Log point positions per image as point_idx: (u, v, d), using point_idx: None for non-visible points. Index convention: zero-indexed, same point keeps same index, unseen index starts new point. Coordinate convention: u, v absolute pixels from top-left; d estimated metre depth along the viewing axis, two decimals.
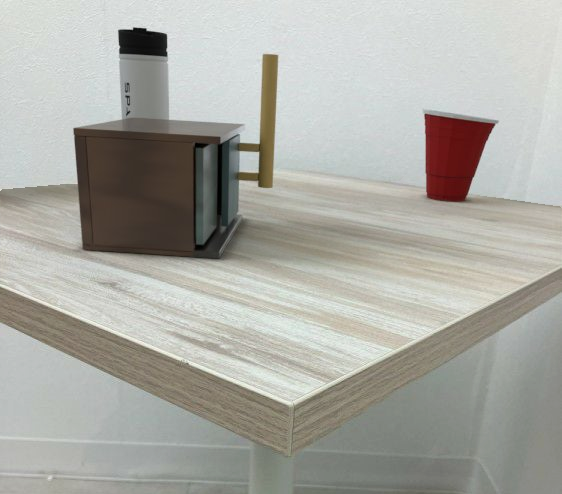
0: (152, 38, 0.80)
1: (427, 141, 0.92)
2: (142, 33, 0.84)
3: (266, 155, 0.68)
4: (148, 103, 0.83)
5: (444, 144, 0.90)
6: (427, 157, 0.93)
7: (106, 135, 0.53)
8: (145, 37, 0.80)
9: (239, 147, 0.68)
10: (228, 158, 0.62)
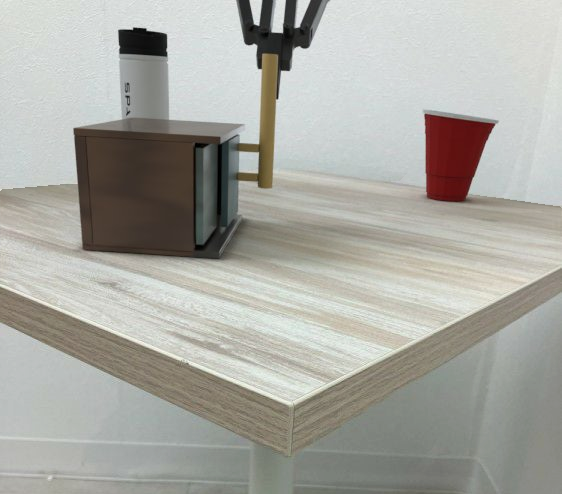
0: (152, 38, 0.80)
1: (427, 141, 0.92)
2: (142, 33, 0.84)
3: (266, 155, 0.68)
4: (148, 103, 0.83)
5: (444, 144, 0.90)
6: (427, 157, 0.93)
7: (106, 135, 0.53)
8: (145, 37, 0.80)
9: (239, 147, 0.68)
10: (227, 158, 0.62)
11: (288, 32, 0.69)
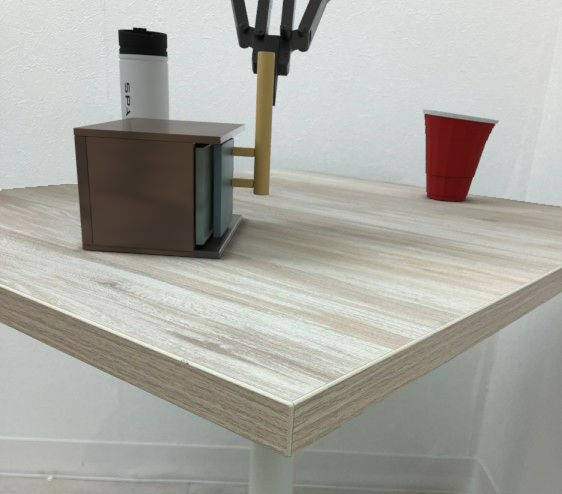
0: (152, 38, 0.80)
1: (427, 141, 0.92)
2: (142, 33, 0.84)
3: (262, 160, 0.64)
4: (148, 103, 0.83)
5: (444, 144, 0.90)
6: (427, 157, 0.93)
7: (106, 135, 0.53)
8: (145, 37, 0.80)
9: (233, 152, 0.64)
10: (220, 164, 0.58)
11: (285, 34, 0.65)
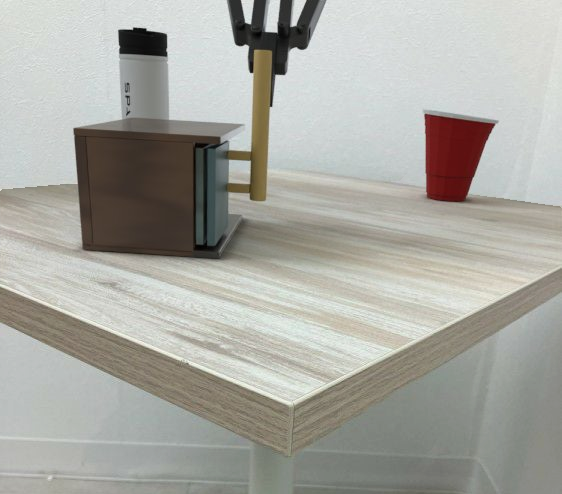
0: (152, 38, 0.80)
1: (427, 141, 0.92)
2: (142, 33, 0.84)
3: (258, 164, 0.60)
4: (148, 103, 0.83)
5: (444, 144, 0.90)
6: (427, 157, 0.93)
7: (106, 135, 0.53)
8: (145, 37, 0.80)
9: (228, 155, 0.61)
10: (214, 169, 0.54)
11: (283, 32, 0.61)
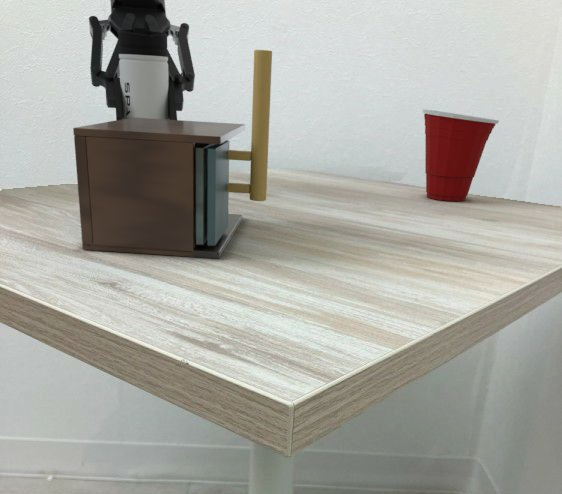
0: (152, 38, 0.80)
1: (427, 141, 0.92)
2: (142, 33, 0.84)
3: (259, 164, 0.60)
4: (148, 103, 0.83)
5: (444, 144, 0.90)
6: (427, 157, 0.93)
7: (106, 135, 0.53)
8: (145, 37, 0.80)
9: (228, 155, 0.61)
10: (214, 169, 0.54)
11: (179, 80, 0.86)
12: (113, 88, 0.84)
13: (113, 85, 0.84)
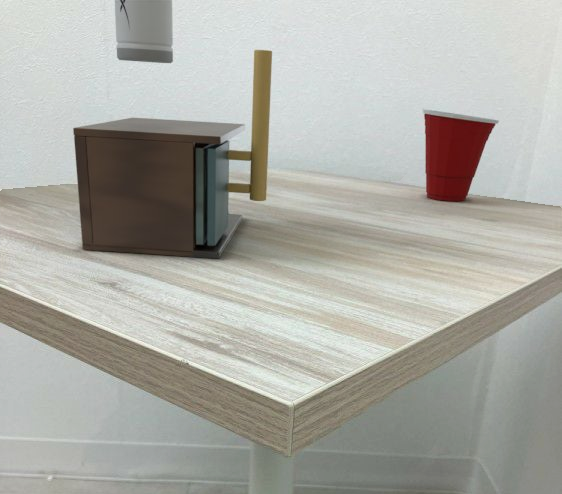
0: None
1: (427, 141, 0.92)
2: None
3: (259, 164, 0.60)
4: None
5: (444, 144, 0.90)
6: (427, 157, 0.93)
7: (106, 135, 0.53)
8: None
9: (228, 155, 0.61)
10: (214, 169, 0.54)
11: None
12: None
13: None
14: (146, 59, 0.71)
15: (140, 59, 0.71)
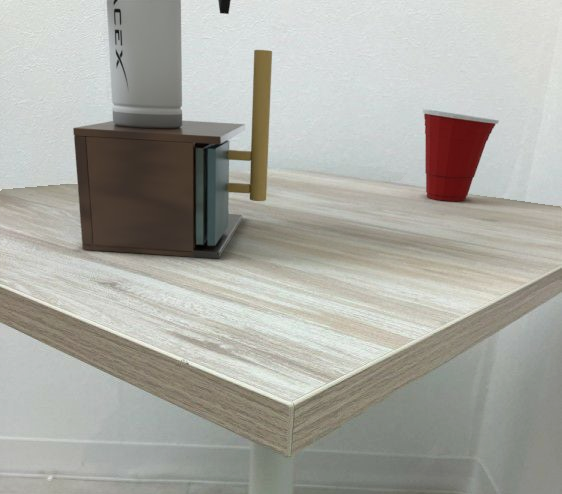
0: None
1: (427, 141, 0.92)
2: None
3: (259, 164, 0.60)
4: None
5: (444, 144, 0.90)
6: (427, 157, 0.93)
7: (106, 135, 0.53)
8: None
9: (228, 155, 0.61)
10: (214, 169, 0.54)
11: None
12: None
13: None
14: (149, 126, 0.57)
15: (141, 126, 0.57)
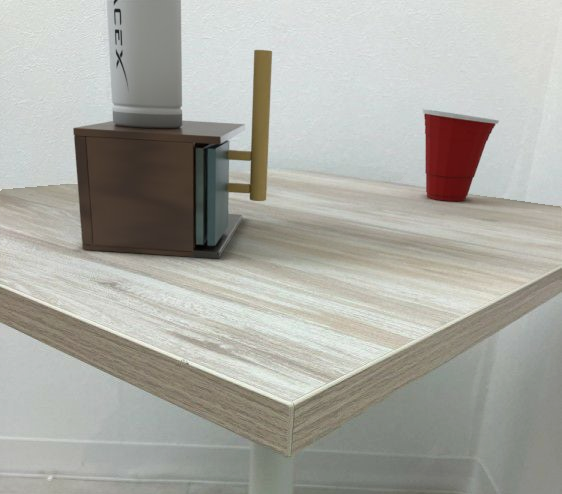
0: None
1: (427, 141, 0.92)
2: None
3: (259, 164, 0.60)
4: None
5: (444, 144, 0.90)
6: (427, 157, 0.93)
7: (106, 135, 0.53)
8: None
9: (228, 155, 0.61)
10: (214, 169, 0.54)
11: None
12: None
13: None
14: (149, 126, 0.57)
15: (141, 126, 0.57)
